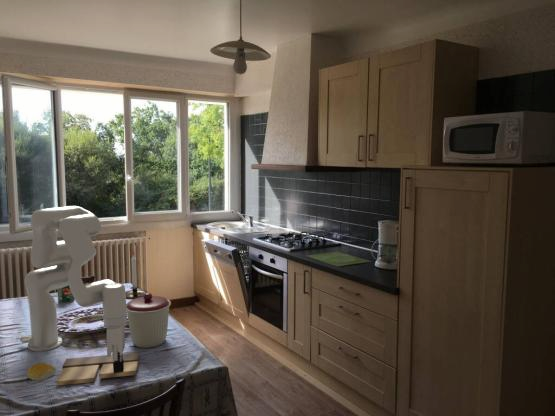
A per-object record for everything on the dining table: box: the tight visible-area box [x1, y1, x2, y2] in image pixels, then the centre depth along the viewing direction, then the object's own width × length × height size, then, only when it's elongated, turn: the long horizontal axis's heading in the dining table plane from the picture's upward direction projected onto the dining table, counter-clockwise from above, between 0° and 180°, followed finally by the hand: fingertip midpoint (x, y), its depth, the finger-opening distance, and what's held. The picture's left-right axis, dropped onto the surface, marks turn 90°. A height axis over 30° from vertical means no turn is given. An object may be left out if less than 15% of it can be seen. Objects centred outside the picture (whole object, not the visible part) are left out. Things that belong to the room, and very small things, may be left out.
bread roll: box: [26, 362, 56, 381], centre depth 164 cm, size 8×9×4 cm
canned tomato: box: [56, 285, 75, 304], centre depth 242 cm, size 8×8×11 cm
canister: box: [126, 292, 172, 349], centre depth 190 cm, size 18×18×21 cm
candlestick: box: [125, 248, 148, 328], centre depth 209 cm, size 11×11×35 cm
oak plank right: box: [98, 361, 139, 379], centre depth 165 cm, size 12×10×2 cm
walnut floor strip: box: [62, 352, 140, 369], centre depth 173 cm, size 26×6×2 cm, turn 102°
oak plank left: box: [55, 365, 100, 387], centre depth 163 cm, size 12×10×2 cm
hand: (118, 371), depth 161 cm, fingers closed
